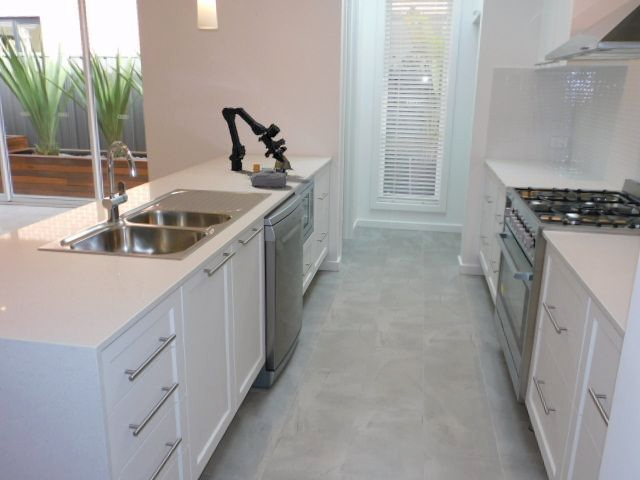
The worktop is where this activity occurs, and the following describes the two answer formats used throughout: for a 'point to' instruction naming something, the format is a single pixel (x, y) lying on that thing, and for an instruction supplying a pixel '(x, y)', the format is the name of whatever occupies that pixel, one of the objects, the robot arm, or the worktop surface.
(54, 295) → the worktop surface
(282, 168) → the block
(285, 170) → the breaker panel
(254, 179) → the small grey backpack
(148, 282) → the worktop surface
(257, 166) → the orange cube
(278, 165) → the rock
